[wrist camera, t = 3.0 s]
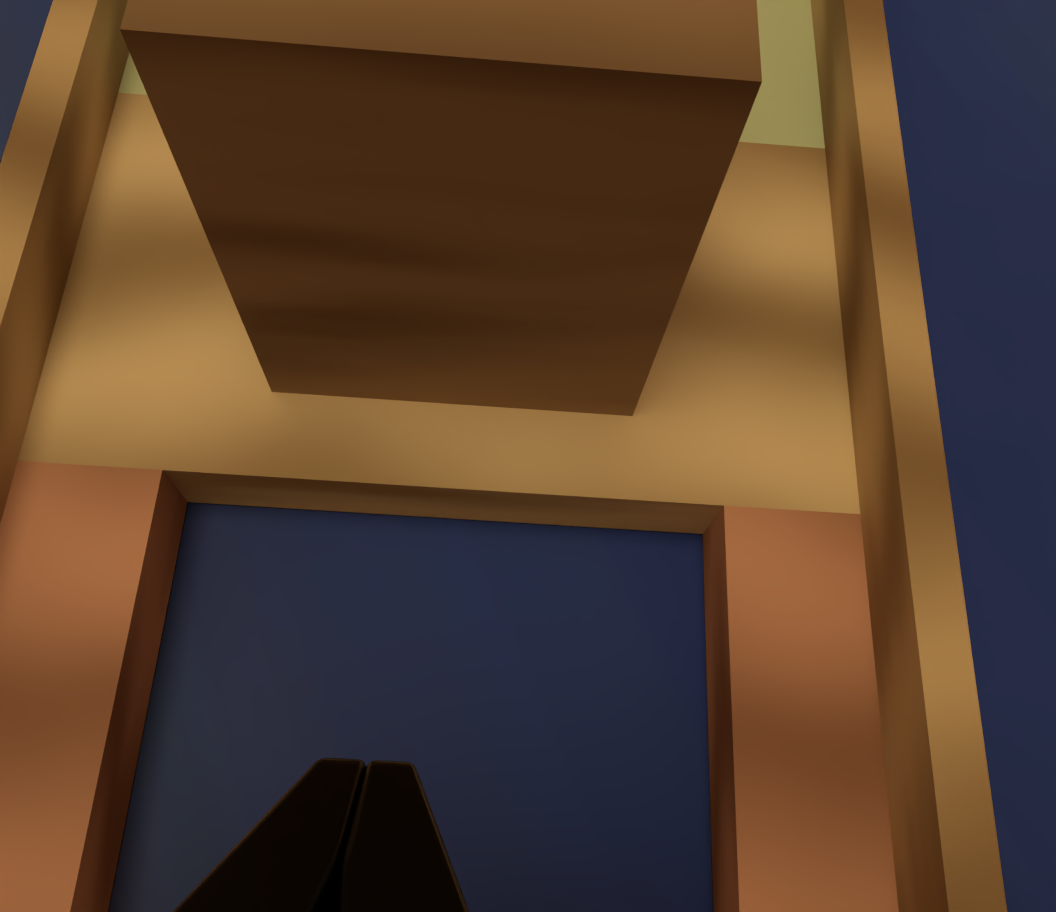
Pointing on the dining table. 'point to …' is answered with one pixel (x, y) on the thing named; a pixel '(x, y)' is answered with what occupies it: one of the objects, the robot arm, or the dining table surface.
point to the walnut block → (452, 182)
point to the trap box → (513, 477)
